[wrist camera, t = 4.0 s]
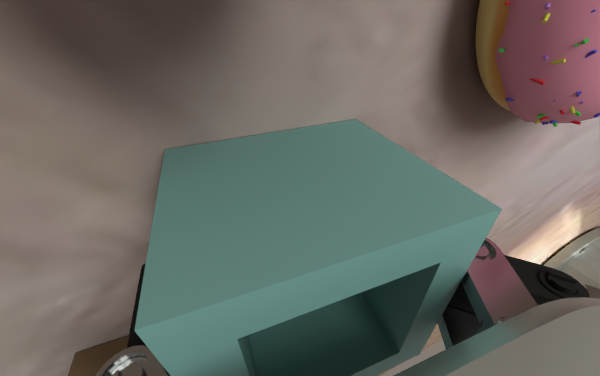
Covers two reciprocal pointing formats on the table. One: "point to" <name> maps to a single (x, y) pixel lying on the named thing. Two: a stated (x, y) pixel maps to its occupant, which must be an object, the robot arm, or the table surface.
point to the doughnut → (541, 57)
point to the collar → (303, 254)
